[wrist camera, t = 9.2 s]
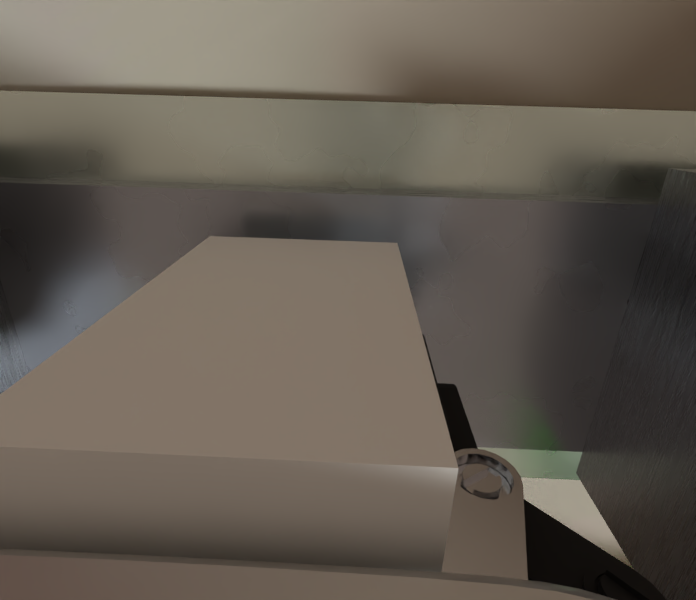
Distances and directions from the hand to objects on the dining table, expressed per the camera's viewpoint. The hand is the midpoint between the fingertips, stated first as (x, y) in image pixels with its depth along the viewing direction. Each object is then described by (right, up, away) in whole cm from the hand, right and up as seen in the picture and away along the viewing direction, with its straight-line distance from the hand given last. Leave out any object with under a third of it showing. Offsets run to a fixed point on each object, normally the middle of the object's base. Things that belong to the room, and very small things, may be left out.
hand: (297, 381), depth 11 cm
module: (0, +1, +1) cm, 2 cm away
